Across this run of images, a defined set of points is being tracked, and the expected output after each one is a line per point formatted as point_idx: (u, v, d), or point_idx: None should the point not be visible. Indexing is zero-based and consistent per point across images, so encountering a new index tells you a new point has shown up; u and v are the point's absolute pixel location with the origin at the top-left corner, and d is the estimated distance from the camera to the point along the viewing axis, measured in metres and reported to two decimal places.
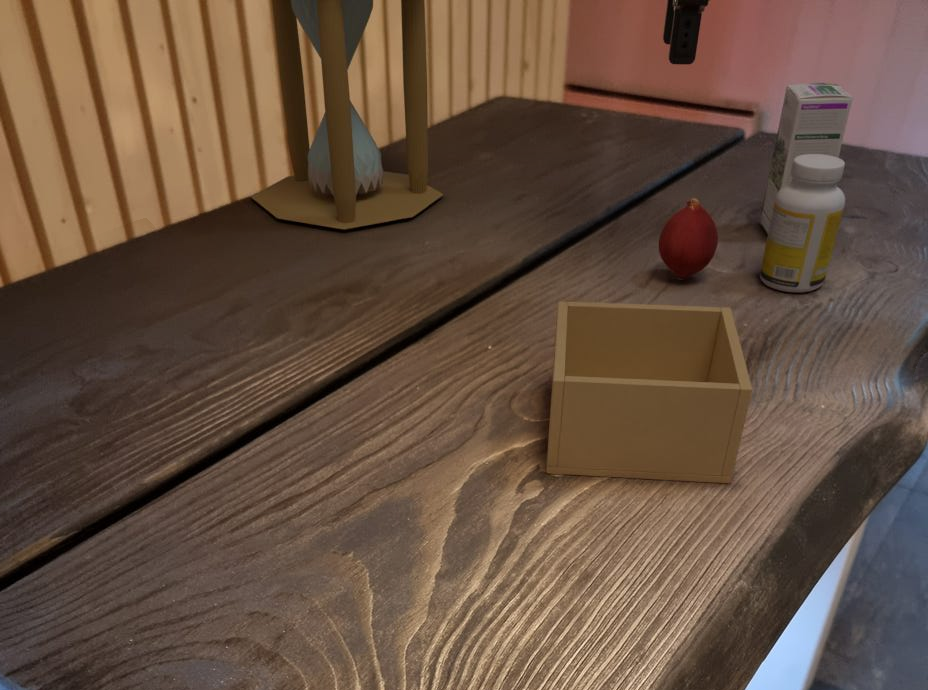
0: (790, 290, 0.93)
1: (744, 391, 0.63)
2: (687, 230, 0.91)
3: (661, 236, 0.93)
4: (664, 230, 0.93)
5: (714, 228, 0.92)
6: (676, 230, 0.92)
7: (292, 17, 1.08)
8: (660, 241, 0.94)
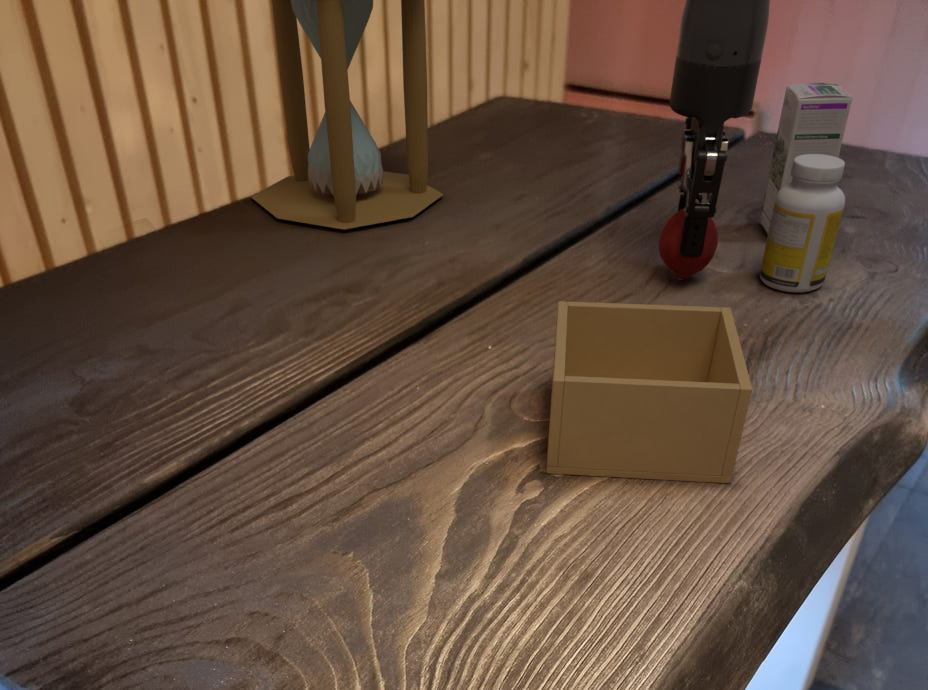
0: (790, 290, 0.93)
1: (744, 391, 0.63)
2: None
3: (661, 236, 0.93)
4: (664, 230, 0.93)
5: (714, 228, 0.92)
6: (676, 230, 0.92)
7: (292, 17, 1.08)
8: (660, 241, 0.94)
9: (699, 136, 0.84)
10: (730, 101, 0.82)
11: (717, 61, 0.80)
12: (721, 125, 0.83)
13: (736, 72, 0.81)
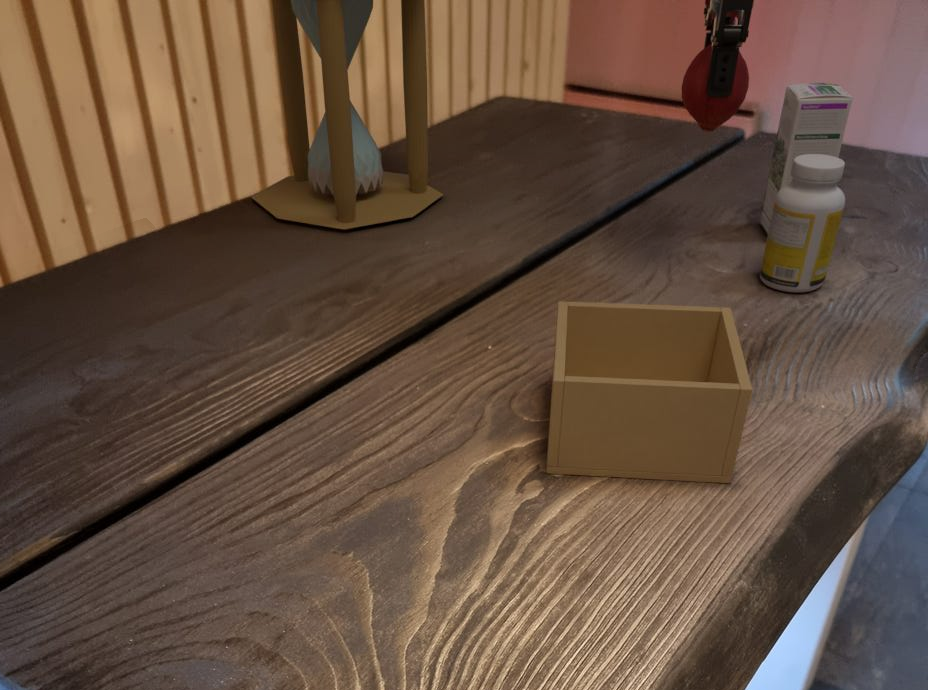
0: (790, 290, 0.93)
1: (744, 391, 0.63)
2: None
3: (684, 78, 0.83)
4: (688, 71, 0.83)
5: (745, 66, 0.81)
6: (702, 67, 0.81)
7: (292, 17, 1.08)
8: (683, 84, 0.83)
9: None
10: None
11: None
12: None
13: None
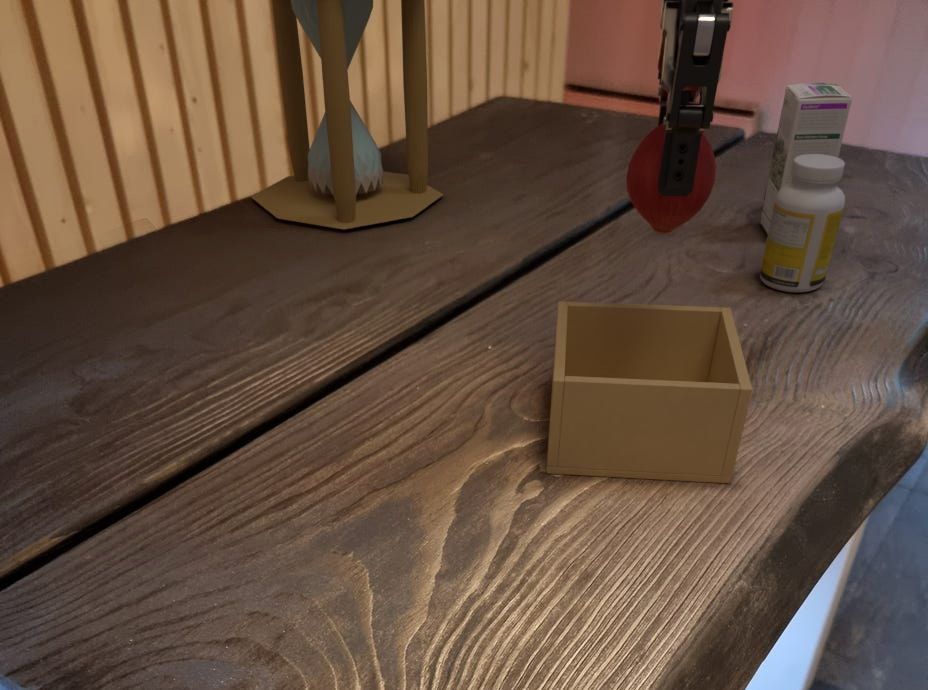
0: (790, 290, 0.93)
1: (744, 391, 0.63)
2: None
3: (630, 166, 0.62)
4: (634, 157, 0.61)
5: (710, 153, 0.60)
6: (652, 155, 0.60)
7: (292, 17, 1.08)
8: (628, 174, 0.62)
9: None
10: None
11: None
12: None
13: None
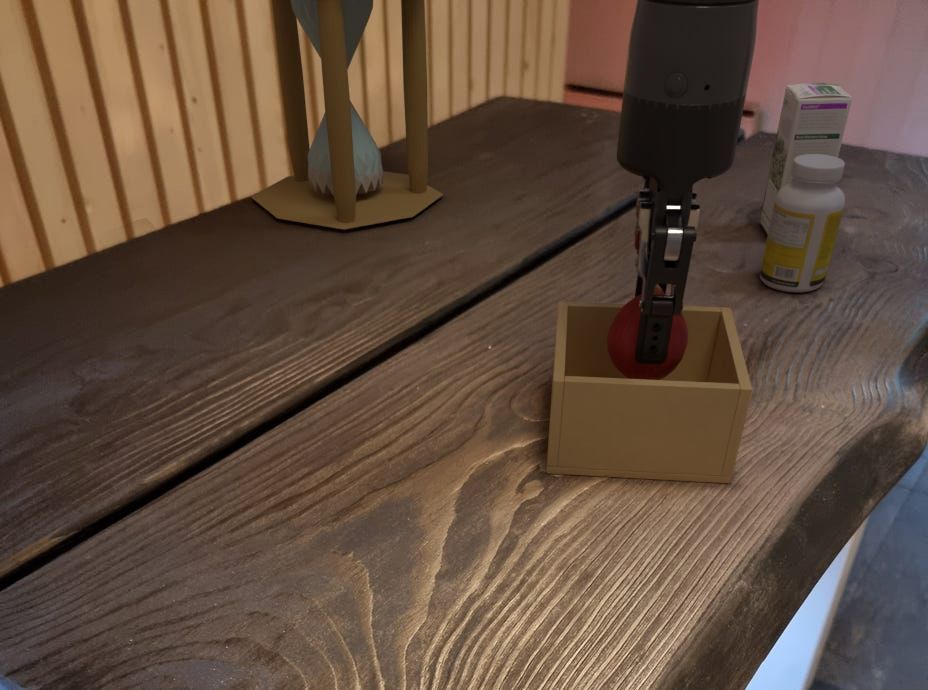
0: (790, 290, 0.93)
1: (744, 391, 0.63)
2: None
3: (610, 332, 0.68)
4: (614, 324, 0.67)
5: (682, 323, 0.66)
6: (630, 326, 0.66)
7: (292, 17, 1.08)
8: (609, 339, 0.68)
9: (657, 204, 0.59)
10: (701, 155, 0.57)
11: (681, 99, 0.55)
12: (689, 189, 0.58)
13: (709, 114, 0.55)
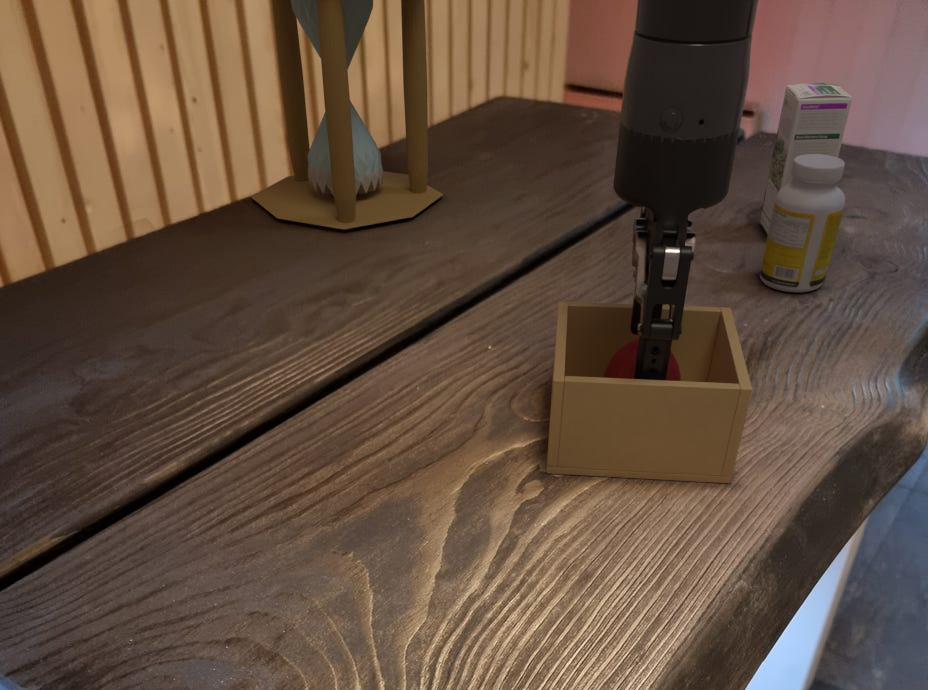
0: (790, 290, 0.93)
1: (744, 391, 0.63)
2: None
3: (605, 375, 0.70)
4: (609, 368, 0.70)
5: (675, 367, 0.69)
6: (624, 370, 0.68)
7: (292, 17, 1.08)
8: None
9: (654, 233, 0.60)
10: (696, 187, 0.58)
11: (676, 133, 0.56)
12: (684, 219, 0.59)
13: (703, 148, 0.56)
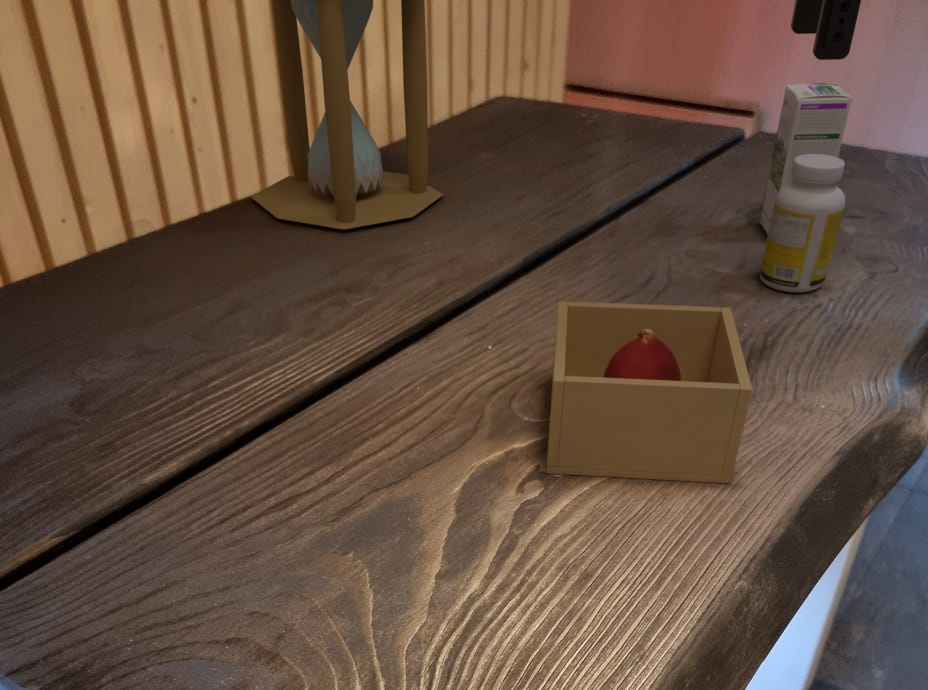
0: (790, 290, 0.93)
1: (744, 391, 0.63)
2: (638, 371, 0.68)
3: (605, 375, 0.70)
4: (609, 368, 0.70)
5: (675, 367, 0.69)
6: (624, 370, 0.68)
7: (292, 17, 1.08)
8: None
9: None
10: None
11: None
12: None
13: None
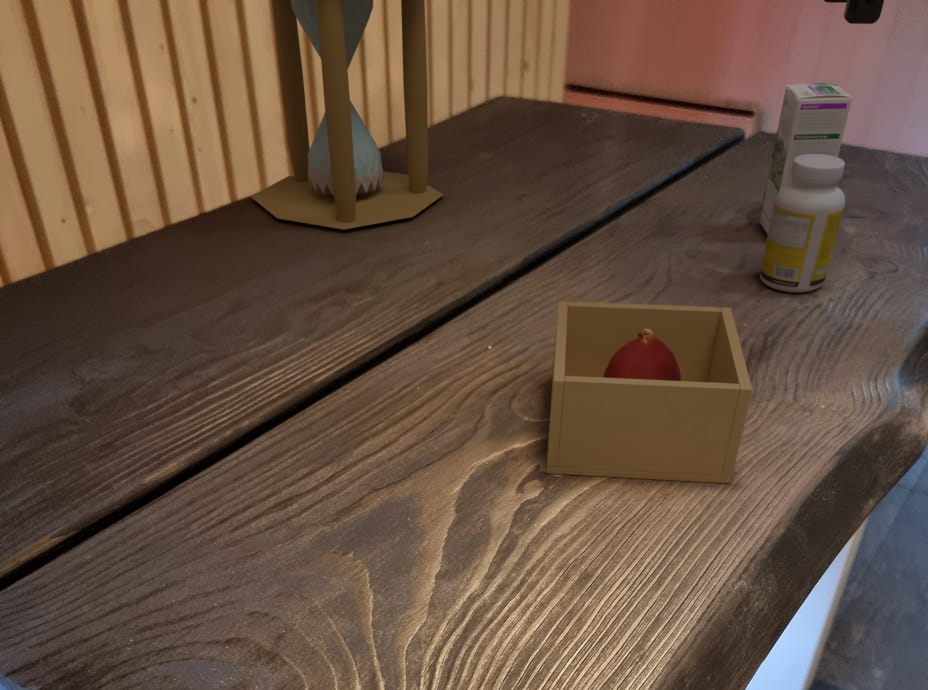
0: (790, 290, 0.93)
1: (744, 391, 0.63)
2: (638, 371, 0.68)
3: (605, 375, 0.70)
4: (609, 368, 0.70)
5: (675, 367, 0.69)
6: (624, 370, 0.68)
7: (292, 17, 1.08)
8: None
9: None
10: None
11: None
12: None
13: None
